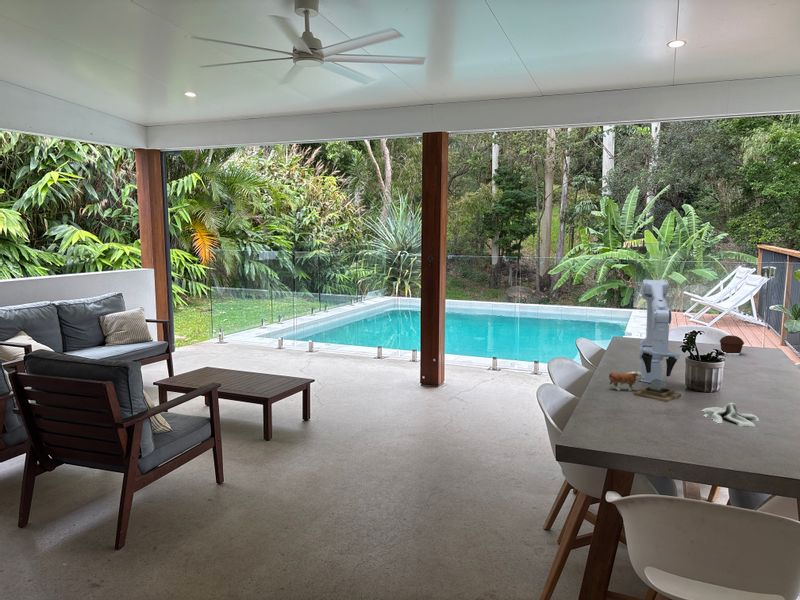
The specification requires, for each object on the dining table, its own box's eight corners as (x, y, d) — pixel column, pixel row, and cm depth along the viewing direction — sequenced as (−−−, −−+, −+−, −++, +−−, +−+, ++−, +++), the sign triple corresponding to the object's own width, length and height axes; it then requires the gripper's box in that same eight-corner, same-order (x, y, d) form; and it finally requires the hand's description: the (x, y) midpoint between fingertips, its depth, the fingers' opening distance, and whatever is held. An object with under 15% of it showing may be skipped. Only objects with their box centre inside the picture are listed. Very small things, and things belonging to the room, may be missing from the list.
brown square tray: (647, 389, 235) (648, 384, 235) (680, 395, 226) (681, 390, 226) (633, 395, 226) (634, 389, 226) (667, 401, 217) (667, 396, 217)
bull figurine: (644, 392, 230) (645, 372, 229) (609, 390, 233) (610, 370, 232) (642, 389, 234) (643, 370, 233) (607, 388, 237) (608, 368, 236)
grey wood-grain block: (655, 391, 229) (655, 378, 229) (665, 393, 226) (666, 380, 226) (649, 393, 226) (650, 380, 225) (660, 395, 223) (660, 382, 222)
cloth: (704, 408, 211) (705, 391, 211) (763, 418, 200) (764, 400, 199) (690, 422, 194) (692, 404, 193) (755, 434, 183) (756, 415, 182)
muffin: (716, 354, 310) (718, 336, 309) (720, 351, 319) (721, 333, 318) (742, 357, 303) (743, 338, 302) (745, 354, 311) (746, 335, 310)
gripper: (637, 338, 226) (635, 372, 228) (675, 343, 216) (673, 379, 217) (645, 336, 231) (643, 369, 233) (682, 341, 221) (680, 376, 222)
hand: (658, 374), depth 225 cm, fingers open, 7 cm apart
